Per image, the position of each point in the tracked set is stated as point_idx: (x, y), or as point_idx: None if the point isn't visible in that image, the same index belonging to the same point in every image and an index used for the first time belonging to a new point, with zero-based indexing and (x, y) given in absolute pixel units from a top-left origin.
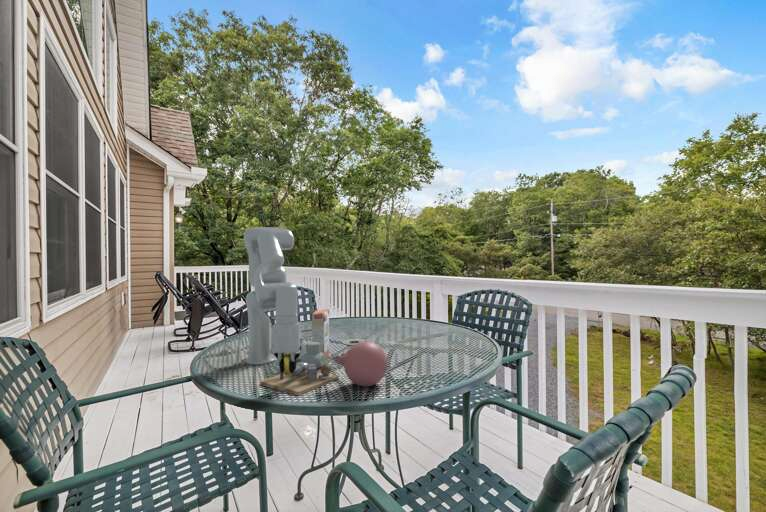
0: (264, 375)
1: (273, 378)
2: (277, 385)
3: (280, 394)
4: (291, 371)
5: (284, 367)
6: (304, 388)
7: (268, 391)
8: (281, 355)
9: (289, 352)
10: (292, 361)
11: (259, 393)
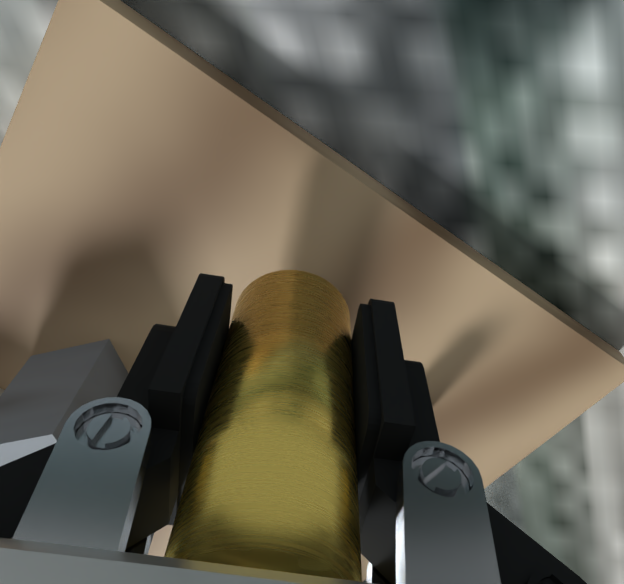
0: (592, 538)
1: (499, 432)
2: (421, 240)
3: (342, 41)
4: (199, 280)
5: (324, 347)
6: (55, 116)
7: (508, 155)
8: (400, 559)
9: (45, 557)
10: (130, 401)
11: (611, 94)
